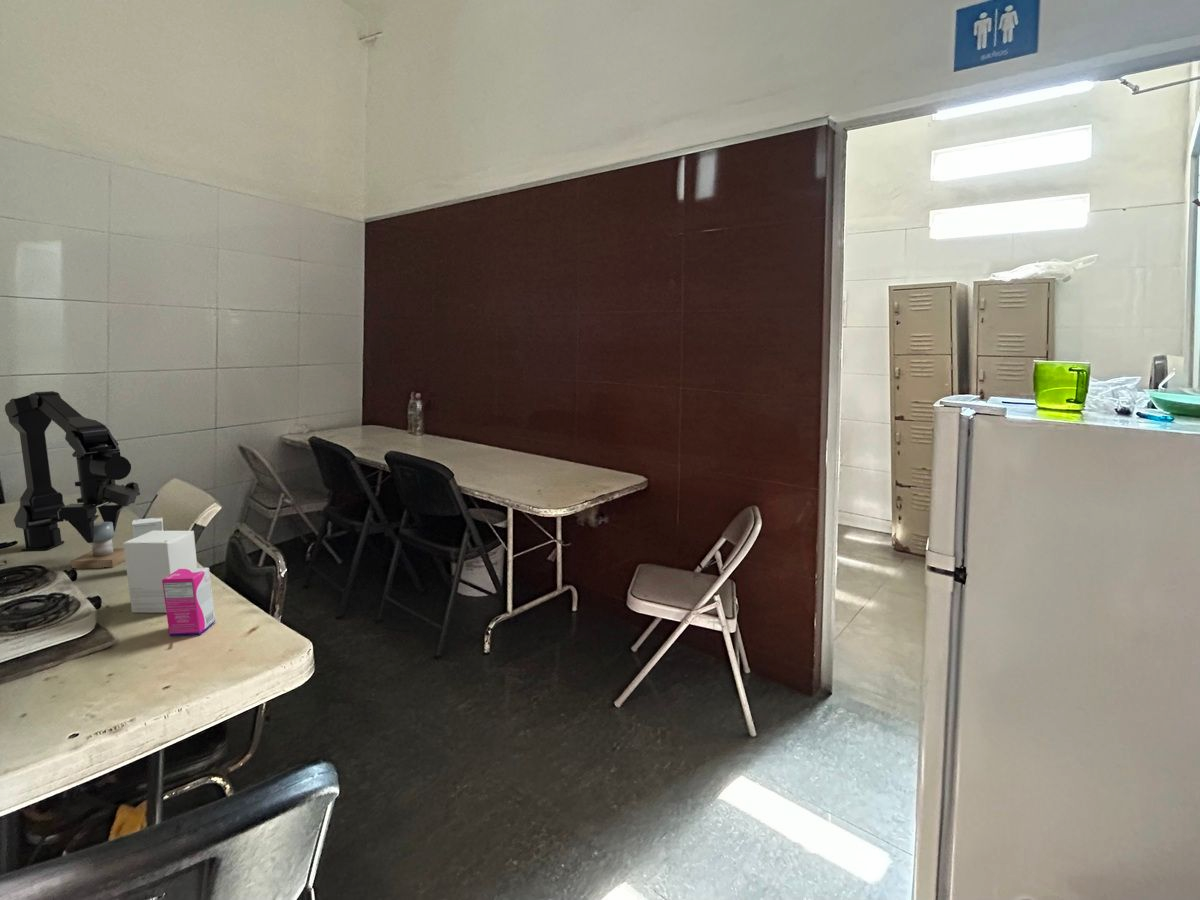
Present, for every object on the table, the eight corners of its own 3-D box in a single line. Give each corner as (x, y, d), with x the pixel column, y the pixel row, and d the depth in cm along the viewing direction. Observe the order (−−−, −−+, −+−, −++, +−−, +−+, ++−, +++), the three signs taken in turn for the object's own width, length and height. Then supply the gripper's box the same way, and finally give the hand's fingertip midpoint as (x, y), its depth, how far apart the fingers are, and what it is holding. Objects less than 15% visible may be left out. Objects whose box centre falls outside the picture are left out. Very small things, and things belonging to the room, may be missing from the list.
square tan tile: (71, 568, 151) (68, 544, 150) (96, 556, 159) (93, 533, 158) (112, 567, 152) (109, 543, 151) (134, 555, 161) (132, 532, 160)
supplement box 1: (202, 596, 136) (196, 529, 133) (174, 613, 127) (167, 542, 124) (160, 595, 136) (153, 529, 133) (129, 613, 127) (121, 542, 124)
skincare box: (135, 573, 148) (129, 524, 146) (136, 568, 152) (131, 519, 150) (166, 569, 151) (161, 520, 149) (167, 563, 155) (162, 516, 153)
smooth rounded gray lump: (83, 541, 152) (81, 527, 151) (97, 535, 157) (95, 521, 156) (106, 540, 153) (104, 526, 152) (118, 534, 157) (117, 521, 157)
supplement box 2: (185, 623, 123) (179, 567, 121) (216, 622, 123) (211, 567, 121) (167, 636, 117) (161, 578, 115) (200, 636, 117) (194, 578, 115)
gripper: (105, 483, 144) (113, 548, 147) (151, 468, 162) (157, 526, 165) (52, 484, 143) (60, 550, 145) (104, 468, 161) (111, 527, 163)
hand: (101, 537), depth 155 cm, fingers open, 8 cm apart
